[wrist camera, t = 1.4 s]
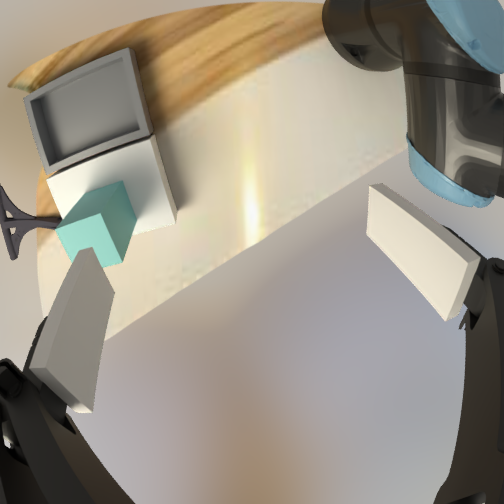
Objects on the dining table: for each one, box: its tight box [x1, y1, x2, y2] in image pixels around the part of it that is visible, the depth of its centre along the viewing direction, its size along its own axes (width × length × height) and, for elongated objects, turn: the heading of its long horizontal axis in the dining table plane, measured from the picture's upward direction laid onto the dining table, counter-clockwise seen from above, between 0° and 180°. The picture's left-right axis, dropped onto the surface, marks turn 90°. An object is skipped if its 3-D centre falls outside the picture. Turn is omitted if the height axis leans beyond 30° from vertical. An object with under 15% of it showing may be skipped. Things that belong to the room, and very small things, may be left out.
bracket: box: [0, 185, 63, 260], centre depth 36 cm, size 14×15×3 cm
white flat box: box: [46, 134, 177, 236], centre depth 36 cm, size 16×12×4 cm
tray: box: [23, 47, 154, 175], centre depth 29 cm, size 16×12×4 cm
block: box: [55, 180, 137, 268], centre depth 31 cm, size 6×6×10 cm
